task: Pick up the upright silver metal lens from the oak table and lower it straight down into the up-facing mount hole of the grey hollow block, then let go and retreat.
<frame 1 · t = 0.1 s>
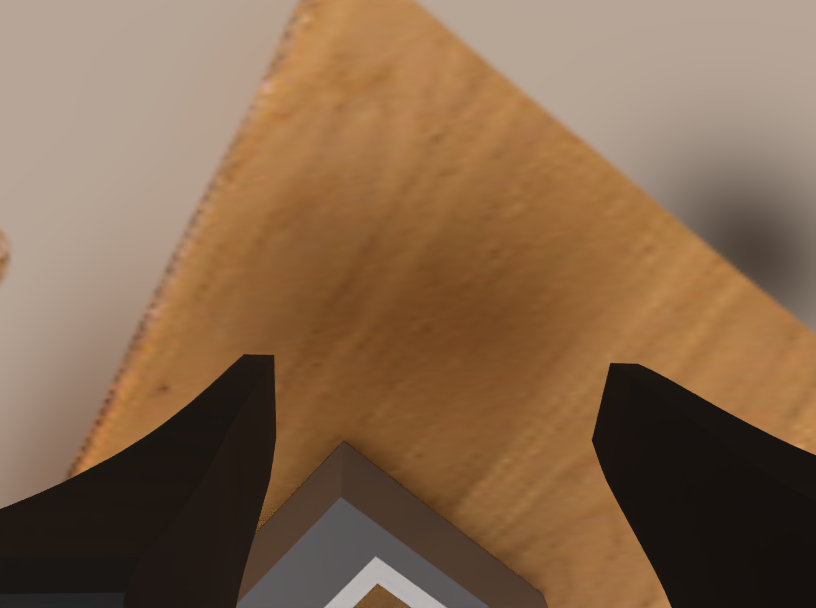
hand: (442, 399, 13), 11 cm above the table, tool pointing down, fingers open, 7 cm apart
grey hollow block: (379, 590, 26), on the table
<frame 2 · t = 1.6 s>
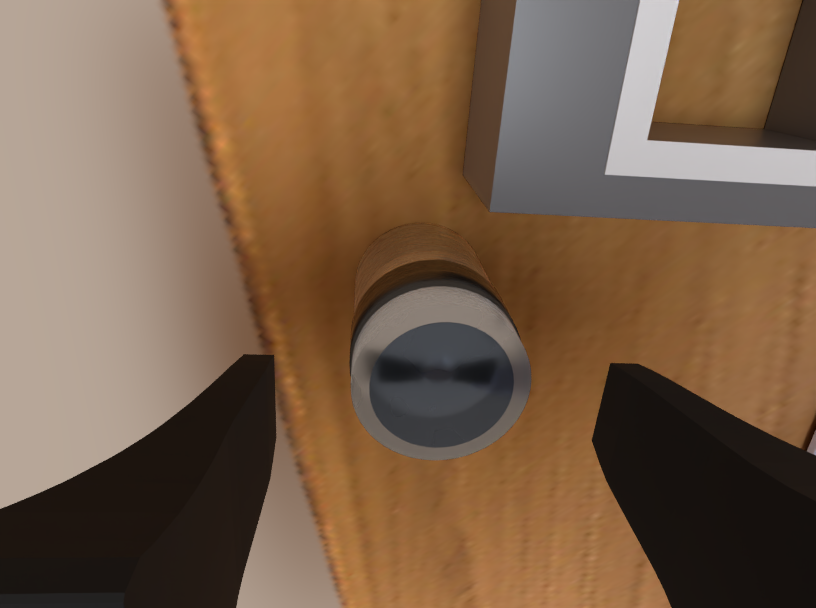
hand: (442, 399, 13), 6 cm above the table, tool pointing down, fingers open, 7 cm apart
lens: (419, 284, 19), on the table
grey hollow block: (701, 19, 16), on the table
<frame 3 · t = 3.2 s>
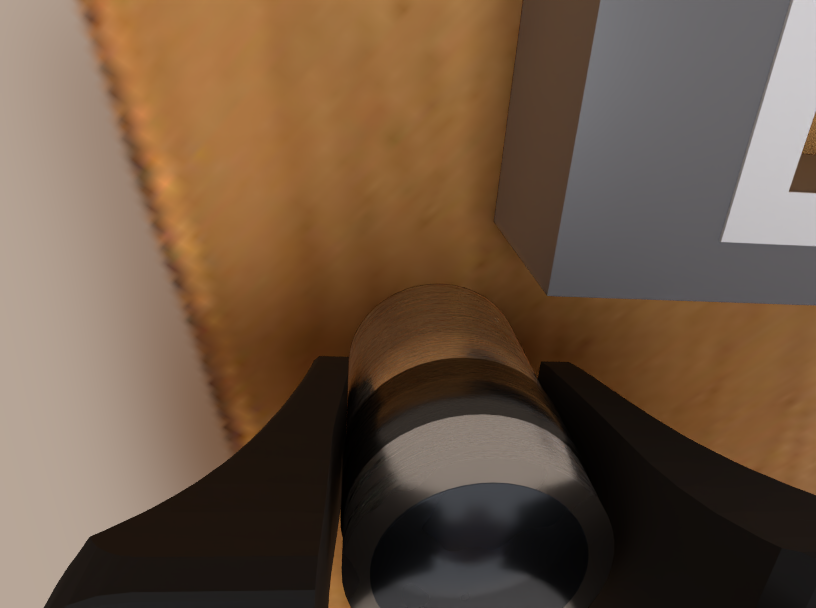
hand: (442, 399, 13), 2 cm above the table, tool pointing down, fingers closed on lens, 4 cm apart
lens: (433, 361, 14), on the table, touching gripper
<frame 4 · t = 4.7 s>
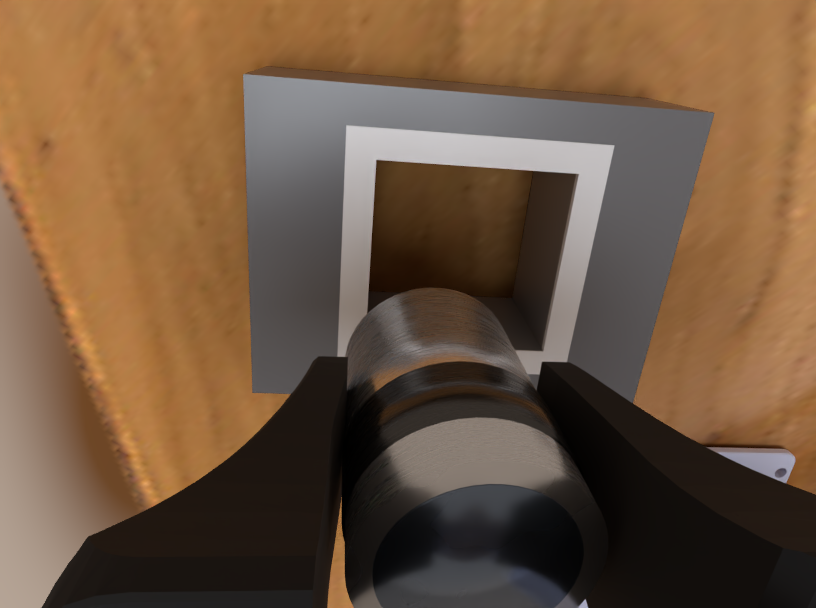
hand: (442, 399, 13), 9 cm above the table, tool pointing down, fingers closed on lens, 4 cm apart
lens: (427, 363, 14), point 7 cm above the table, touching gripper
grey hollow block: (447, 222, 20), on the table
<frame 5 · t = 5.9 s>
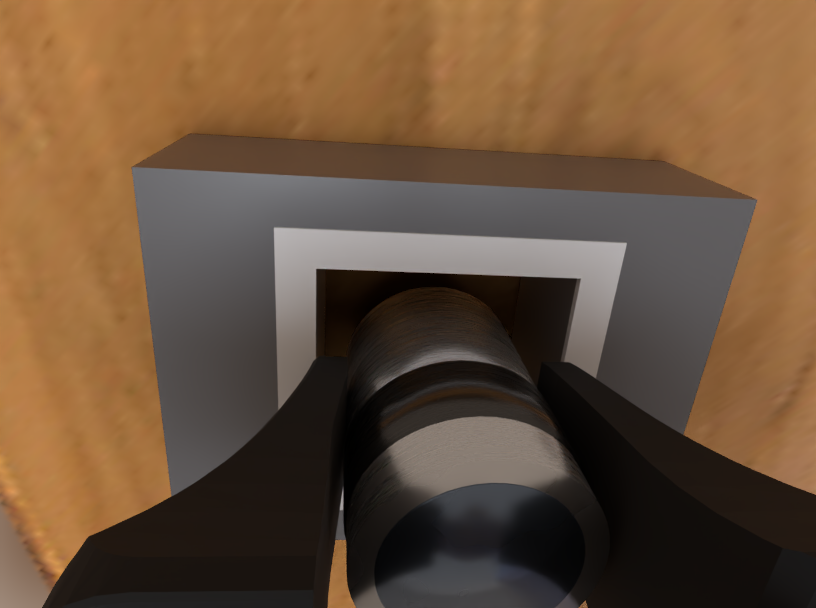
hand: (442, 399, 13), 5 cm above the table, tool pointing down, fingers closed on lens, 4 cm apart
lens: (428, 362, 14), point 3 cm above the table, touching gripper
grey hollow block: (421, 310, 17), on the table
when the fingers open (5 cm above the table, at t = 6.5 s): lens drops 3 cm, resting in grey hollow block.
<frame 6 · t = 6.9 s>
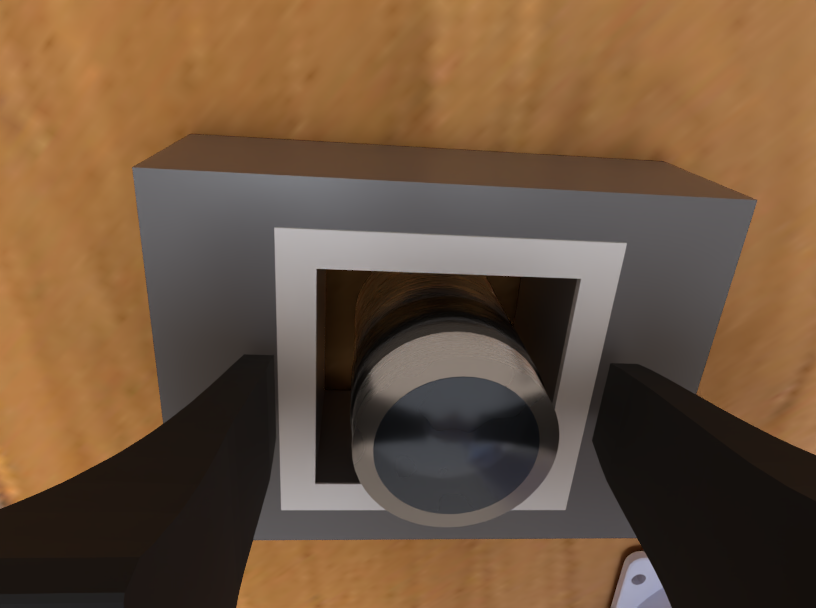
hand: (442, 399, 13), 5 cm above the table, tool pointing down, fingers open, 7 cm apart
lens: (425, 314, 17), resting in grey hollow block
grey hollow block: (422, 310, 17), on the table
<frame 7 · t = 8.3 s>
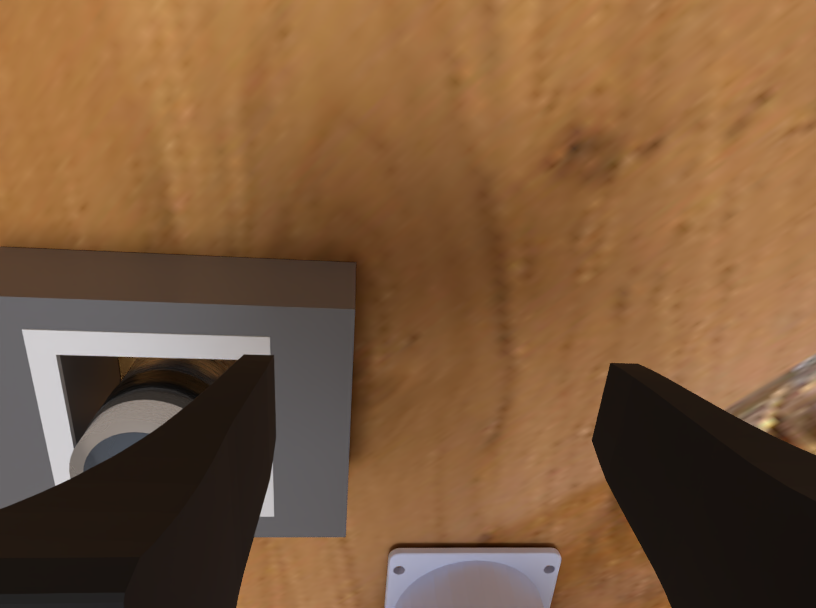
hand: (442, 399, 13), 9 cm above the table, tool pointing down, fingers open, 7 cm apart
lens: (196, 370, 22), resting in grey hollow block
grey hollow block: (192, 366, 22), on the table
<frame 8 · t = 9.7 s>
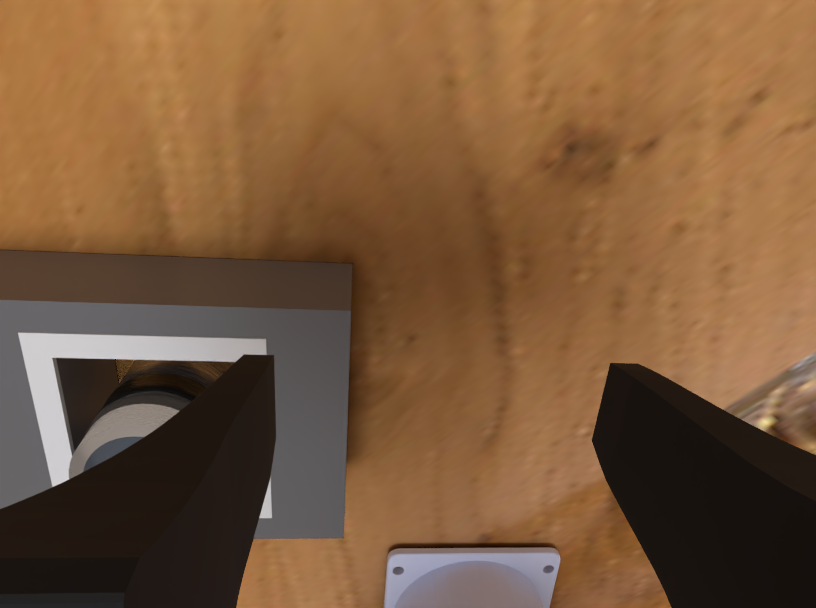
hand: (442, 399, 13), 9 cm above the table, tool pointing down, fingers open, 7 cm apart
lens: (193, 372, 22), resting in grey hollow block
grey hollow block: (190, 368, 22), on the table
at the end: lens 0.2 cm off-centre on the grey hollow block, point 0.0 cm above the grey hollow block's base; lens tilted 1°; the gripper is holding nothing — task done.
